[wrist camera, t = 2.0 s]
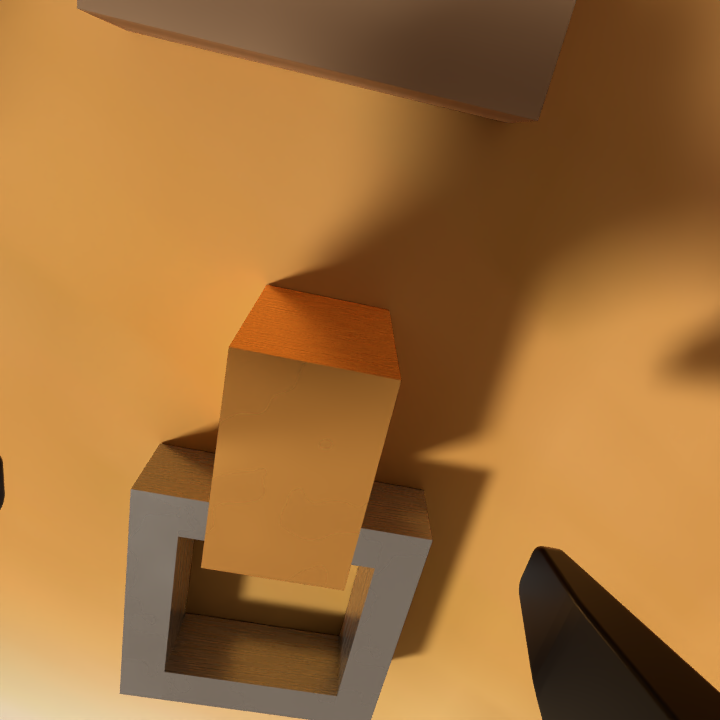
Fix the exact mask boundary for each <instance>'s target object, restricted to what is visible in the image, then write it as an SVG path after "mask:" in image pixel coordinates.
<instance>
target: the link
mask: <svg viewBox="0 0 720 720" xmlns="http://www.w3.org/2000/svg"><path fill="white" fill-rule="evenodd" d="M400 383H401V376H400V370H399V364H398V359H397V353H396V347H395V341H394V336H393V330H392V324H391V318H390V313H389V310H387V309H382V308H377V307H372V306H368V305H363V304H358V303H353V302H348V301H343V300H338V299H334V298H329V297H324V296H319V295H314V294H309V293H305V292H300V291H295V290H290V289H285V288H280V287H276V286H271V285H266V287H265V289H264V290H263V292H262V293H261V295H260V297H259V298H258V300H257V302H256V303H255V305H254V307H253V308H252V310H251V311H250V313H249V315H248V316H247V318H246V320H245V321H244V323H243V325H242V326H241V328H240V330H239V331H238V333H237V334H236V336H235V338H234V339H233V341H232V343H231V344H230V346H229V350H228V358H227V366H226V374H225V382H224V390H223V398H222V406H221V414H220V421H219V429H218V437H217V445H216V453H211V452H205V451H199V450H194V449H188V448H182V447H177V446H171V445H166V444H160V445H159V446H158V448H157V449H156V451H155V452H154V454H153V456H152V457H151V459H150V460H149V462H148V463H147V465H146V466H145V468H144V470H143V471H142V473H141V474H140V476H139V477H138V479H137V481H136V482H135V484H134V485H133V487H132V488H131V498H130V516H129V535H128V553H127V572H126V590H125V609H124V627H123V646H122V664H121V682H120V694H125V695H133V696H140V697H148V698H155V699H162V700H170V701H177V702H184V703H192V704H199V705H206V706H214V707H221V708H228V709H236V710H243V711H250V712H258V713H265V714H272V715H280V716H287V717H294V718H302V719H309V720H371V718H372V715H373V712H374V709H375V706H376V703H377V701H378V698H379V695H380V692H381V689H382V686H383V683H384V680H385V677H386V674H387V671H388V669H389V666H390V663H391V660H392V657H393V654H394V651H395V648H396V645H397V642H398V640H399V637H400V634H401V631H402V628H403V625H404V622H405V619H406V616H407V613H408V610H409V608H410V605H411V602H412V599H413V596H414V593H415V590H416V587H417V584H418V581H419V578H420V576H421V573H422V570H423V567H424V564H425V561H426V558H427V555H428V552H429V549H430V547H431V544H432V541H433V539H432V534H431V528H430V523H429V517H428V512H427V506H426V501H425V496H424V490H419V489H414V488H408V487H402V486H397V485H391V484H385V483H380V482H374V479H375V475H376V471H377V468H378V464H379V460H380V457H381V453H382V449H383V446H384V442H385V438H386V435H387V431H388V427H389V424H390V420H391V416H392V413H393V409H394V405H395V402H396V398H397V394H398V391H399V387H400ZM194 539H197V540H203V541H204V548H203V556H202V563H201V568H205V569H212V570H218V571H224V572H231V573H237V574H243V575H250V576H256V577H262V578H268V579H275V580H281V581H287V582H294V583H300V584H306V585H313V586H319V587H325V588H332V589H338V590H344V589H345V585H346V581H347V578H348V574H349V570H350V567H351V565H356V566H359V568H358V571H357V575H356V579H355V582H354V586H353V589H352V593H351V596H350V600H349V604H348V607H347V611H346V614H345V618H344V621H343V625H342V628H341V632H340V636H334V635H328V634H321V633H314V632H308V631H301V630H294V629H288V628H281V627H275V626H268V625H261V624H255V623H248V622H241V621H235V620H228V619H221V618H215V617H208V616H202V615H195V614H188V613H186V605H187V597H188V588H189V579H190V571H191V562H192V554H193V545H194Z"/></svg>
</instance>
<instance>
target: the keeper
mask: <svg viewBox="0 0 720 720" xmlns="http://www.w3.org/2000/svg"><path fill="white" fill-rule="evenodd" d="M575 3H576V0H77V8H78V9H80V10H82V11H84V12H87V13H89V14H91V15H93V16H95V17H98V18H100V19H102V20H104V21H107V22H109V23H111V24H113V25H116V26H118V27H120V28H122V29H125V30H127V31H131V32H135V33H139V34H144V35H148V36H152V37H156V38H160V39H164V40H168V41H172V42H177V43H181V44H185V45H189V46H193V47H197V48H201V49H205V50H210V51H214V52H218V53H222V54H226V55H230V56H234V57H238V58H242V59H247V60H251V61H255V62H259V63H263V64H267V65H271V66H275V67H280V68H284V69H288V70H292V71H296V72H300V73H304V74H308V75H313V76H317V77H321V78H325V79H329V80H333V81H337V82H341V83H346V84H350V85H354V86H358V87H362V88H366V89H370V90H374V91H379V92H383V93H387V94H391V95H395V96H399V97H403V98H407V99H411V100H416V101H420V102H424V103H428V104H432V105H436V106H440V107H444V108H449V109H453V110H457V111H461V112H465V113H469V114H473V115H477V116H482V117H486V118H490V119H494V120H498V121H502V122H506V123H516V122H529V121H538V119H539V116H540V113H541V110H542V107H543V104H544V100H545V97H546V94H547V91H548V88H549V85H550V82H551V78H552V75H553V72H554V69H555V66H556V63H557V60H558V56H559V53H560V50H561V47H562V44H563V41H564V37H565V34H566V31H567V28H568V25H569V22H570V19H571V15H572V12H573V9H574V6H575Z"/></svg>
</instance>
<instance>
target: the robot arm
mask: <svg viewBox="0 0 720 720" xmlns="http://www.w3.org/2000/svg"><path fill="white" fill-rule="evenodd" d="M4 497H5V490H4V473H3V461H2V458H1V456H0V509H1V507H2V505H3V502H4ZM519 596H520V603H521V609H522V616H523V622H524V629H525V635H526V642H527V648H528V655H529V661H530V668H531V673H532V679H533V684H534V688H535V692H536V697H537V701H538V705H539V709H540V712H541V716H542V720H720V692H719V691H718V690H717V689H715V688H714V687H713V686H712V685H711V684H710V683H709V682H708V681H707V680H705V679H704V678H703V677H702V676H701V675H700V674H699V673H698V672H697V671H695V670H694V669H693V668H692V667H691V666H690V665H689V664H688V663H687V662H685V661H684V660H683V659H682V658H681V657H680V656H679V655H678V654H677V653H675V652H674V651H673V650H672V649H671V648H670V647H669V646H668V645H667V644H665V643H664V642H663V641H662V640H661V639H660V638H659V637H658V636H657V635H655V634H654V633H653V632H652V631H651V630H650V629H649V628H648V627H647V626H645V625H644V624H643V623H642V622H641V621H640V620H639V619H638V618H637V617H635V616H634V615H633V614H632V613H631V612H630V611H629V610H628V609H627V608H625V607H624V606H623V605H622V604H621V603H620V602H619V601H618V600H617V599H615V598H614V597H613V596H612V595H611V594H610V593H609V592H608V591H607V590H605V589H604V588H603V587H602V586H601V585H600V584H599V583H598V582H597V581H595V580H594V579H593V578H592V577H591V576H590V575H589V574H588V573H587V572H585V571H584V570H583V569H582V568H581V567H580V566H579V565H578V564H577V563H575V562H574V561H573V560H572V559H571V558H570V557H569V556H568V555H567V554H565V553H564V552H563V551H562V550H560V549H556V548H550V547H544V546H539V547H537V548H535V549H534V551H533V553H532V555H531V557H530V560H529V562H528V564H527V566H526V569H525V571H524V573H523V575H522V577H521V580H520V584H519Z"/></svg>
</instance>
